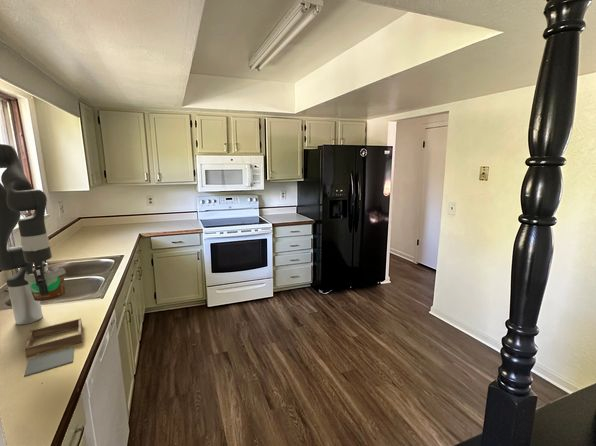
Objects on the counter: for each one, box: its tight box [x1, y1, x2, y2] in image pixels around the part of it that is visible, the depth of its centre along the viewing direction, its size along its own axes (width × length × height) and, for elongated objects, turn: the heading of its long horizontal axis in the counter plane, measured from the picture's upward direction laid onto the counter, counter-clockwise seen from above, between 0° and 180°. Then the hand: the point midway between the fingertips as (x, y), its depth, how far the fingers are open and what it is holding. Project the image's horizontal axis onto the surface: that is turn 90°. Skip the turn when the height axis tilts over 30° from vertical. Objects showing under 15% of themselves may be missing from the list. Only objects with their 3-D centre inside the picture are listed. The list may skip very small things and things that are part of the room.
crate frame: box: [24, 318, 83, 358], centre depth 124 cm, size 15×17×4 cm
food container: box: [24, 267, 66, 302], centre depth 114 cm, size 12×6×10 cm, turn 106°
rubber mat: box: [23, 346, 74, 378], centre depth 111 cm, size 10×13×1 cm
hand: (45, 291), depth 115 cm, fingers closed on food container, 5 cm apart
